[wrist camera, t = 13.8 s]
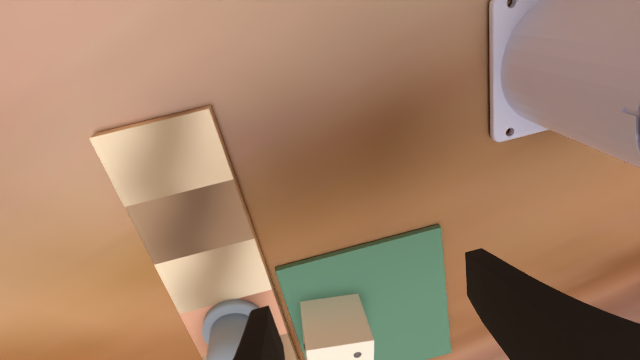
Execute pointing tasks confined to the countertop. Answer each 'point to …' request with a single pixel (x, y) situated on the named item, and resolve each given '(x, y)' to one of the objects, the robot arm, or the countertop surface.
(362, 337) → the die
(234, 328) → the pawn
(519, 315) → the robot arm
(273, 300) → the track
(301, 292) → the dice mat
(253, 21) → the countertop surface
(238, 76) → the countertop surface
